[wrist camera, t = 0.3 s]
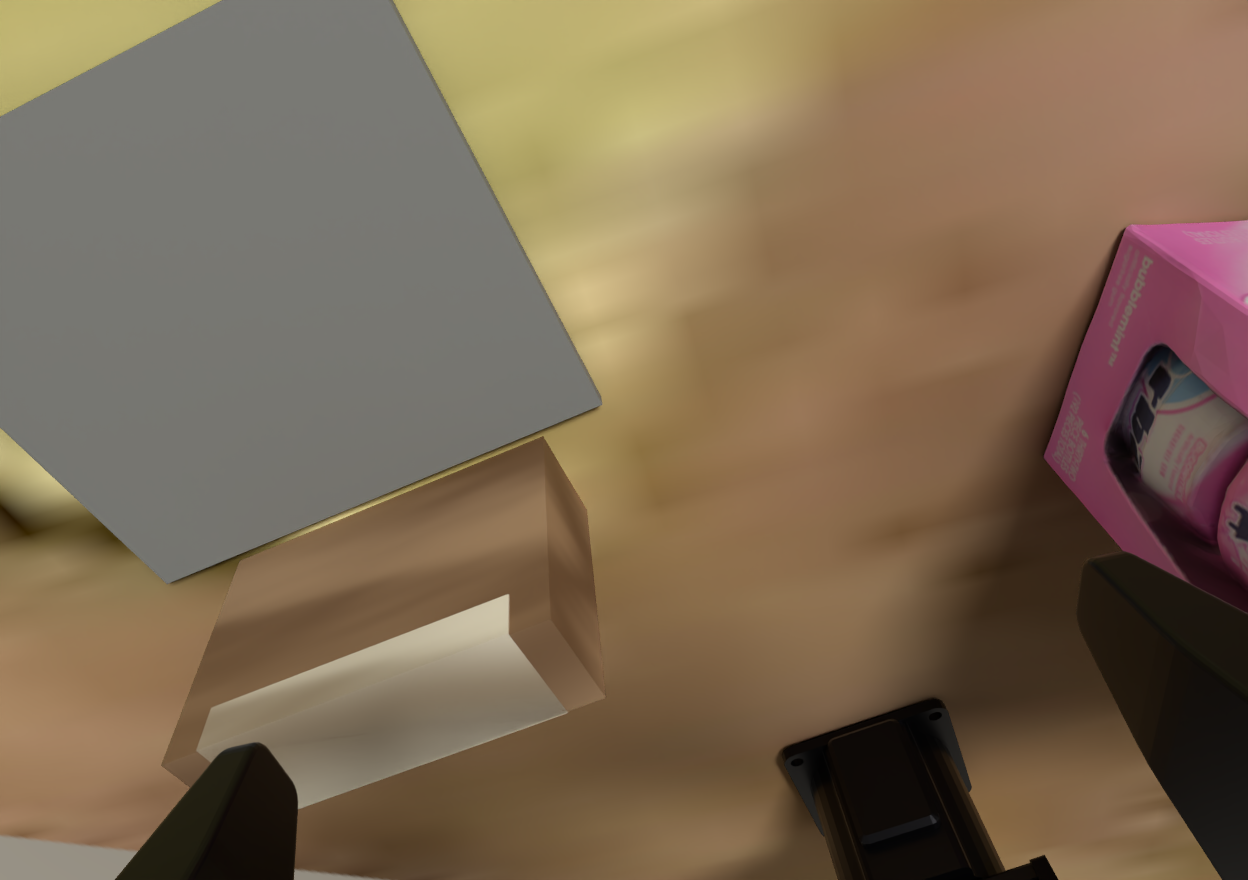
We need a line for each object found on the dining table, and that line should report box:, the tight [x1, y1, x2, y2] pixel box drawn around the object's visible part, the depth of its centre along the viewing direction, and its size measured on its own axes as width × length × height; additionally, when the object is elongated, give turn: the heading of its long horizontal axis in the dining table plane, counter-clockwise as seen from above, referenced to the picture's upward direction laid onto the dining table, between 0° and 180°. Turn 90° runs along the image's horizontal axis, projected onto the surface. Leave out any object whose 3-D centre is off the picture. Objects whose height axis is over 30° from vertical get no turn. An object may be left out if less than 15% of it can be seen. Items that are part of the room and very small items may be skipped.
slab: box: [161, 437, 606, 809], centre depth 23 cm, size 3×10×7 cm, turn 113°
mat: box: [0, 0, 602, 584], centre depth 21 cm, size 12×14×1 cm
